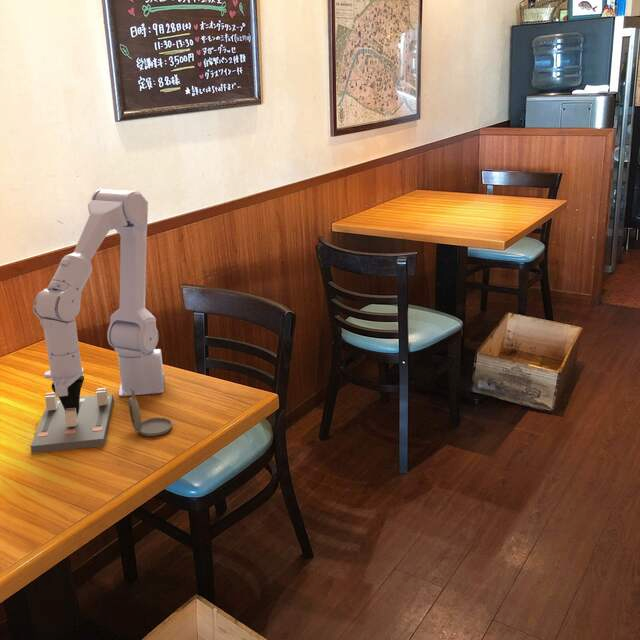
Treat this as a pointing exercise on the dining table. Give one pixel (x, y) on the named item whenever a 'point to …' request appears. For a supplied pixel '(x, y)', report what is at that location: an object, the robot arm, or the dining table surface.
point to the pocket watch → (150, 425)
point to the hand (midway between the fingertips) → (72, 414)
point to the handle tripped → (71, 417)
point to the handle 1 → (51, 401)
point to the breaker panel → (73, 427)
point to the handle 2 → (102, 396)
